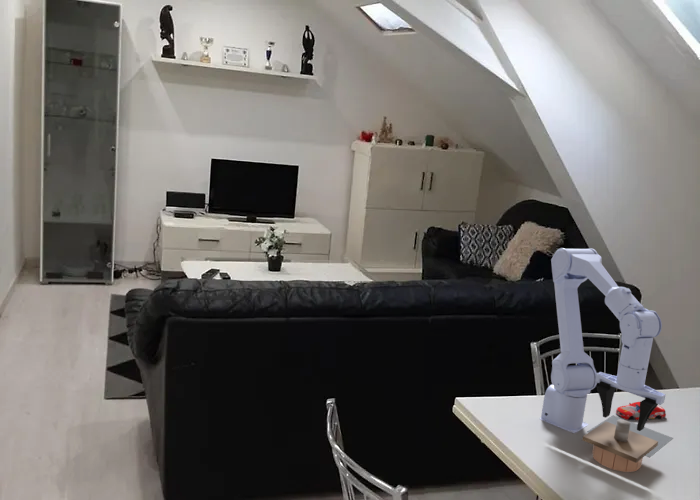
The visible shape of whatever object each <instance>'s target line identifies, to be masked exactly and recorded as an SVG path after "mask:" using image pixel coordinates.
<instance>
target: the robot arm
mask: <svg viewBox="0 0 700 500" xmlns="http://www.w3.org/2000/svg"><path fill="white" fill-rule="evenodd" d="M602 259H603V258H602V256H601V255H600V254H599V253H598V252H597V250H596V249H594V248H590V247H589V248H564V247H560V248H557V250H555V252H554V254H553V256H552V258H551V259H550V261H551V273H552V282H553V284H554V294H555V303H556V304H555V305H556V316H557V324H558V325H557V326H558V333H559V334H558V335H559V337H558V338H559V344H560V345H559V348H560V353H559V354H558V355H557V356H556V357H555V358H553V360H552V361H551V365H552V367H551V373H550V380H551V381H550V382H551V384H549V386H548V387H547V388H546V390H545V393H544V397H543V401H542V402H543V403H542V408H541V409H542V410H541V416H540V417H539V420H541V421H543V422H545V423H547V424H550V425H553V426H555V427H558V428H560V429H562V430H565V431H566V432H570V433H572V434H577V433H578V432H579V431H581V430H583V429H584V428H586V427H587V426H589V425H590V424H589V423H587V422H586V421H585V422H584V416H585V411H586V405H587V404H586V403H587V400H588V399H587V398H588V395H590V394H591V390H594V389H595V388H596V391H597V394H598V396H599V398H600V402H601V408H602V409H601V411H602V417H603V418H606V419H607V418H609V416H610V414H611V410H612V403H613V398H614V394H615V392H616V389H619V390H621V391H623V392H626V393H630V394H632V395H635V396H638V397H641V398H644V399H642V400H640V401H639V402H640V415H639V420H637V424H638V425H637V430H638V431H641V430H642V429H644V427H646V426H645V425H646V423H647V422H648V420H649V419H648V418H649V416H650V414H651V413H652V412H653V410H654V409H655V408H656V407H657V405H659V406H661V405H663V404H665V399H666V393H663V392H660V391H658V390H656V389H655V388H652V387H650V386H649V385H646V377H647V374H648V373H647V372H648V368H649V363H650V358H651V353H652V347H653V342H654V338H657V337H658V336H659V335H660V334H661V332H662V328H663V323H662V318H661V317H660V316H659V314H658V312H657V311H655V310H649V309H648V308H645V307H644V305H643V304H642V303H641V302H640V301H638V299H637V298H636V297H635V295H633V294H632V291H631V289H630V288H629V287H625V286H619V285H618V284H617V282H615V280H614V279H613V277H612V276H611V275H610V273H609V272H608V271H607V269H606V268H605V266H604V265H603V264H602V263H603V260H602ZM587 280H589V281H590V282H591V283H592V284H593V285H594V286H595V287H596V288H597V289H598V290H599V291H600V292H601V293H602V294H603V295H604V296H605V297H604V304H605V305H606V306H607V307H608V309H609V310H610V311H611V313H613V315H614V316H615V317H616V319H618V321H619V330H620V332H621V339H620V340H621V343H622V346H621V352H620V357H619V363H618V368H617V374H616V375H614V374H613V375H612V374H610V373H605V372H602V371H599V372H597V370H596V368H595V365H594V360H593V358H592V357H591V356H589V355H588V353H586V352H585V351H584V349H585V348H584V341H583V340H584V339H583V331H582V321H581V312H580V311H581V310H580V302H579V293H578V288H579V287H580V285H581V284H582V283H584V282H586V281H587ZM570 364H574V365H570ZM597 384H599V385H597Z"/></svg>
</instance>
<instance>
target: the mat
mask: <svg viewBox="0 0 700 500" xmlns="http://www.w3.org/2000/svg"><path fill="white" fill-rule="evenodd" d="M619 419H622V420H626V421H628V422H630V429H629V430H630V431H632V432H635V433H637V434H640V435H643V436H645V437H648V438H650V439H653V440H655V441H658V445H657V446H656V447H655V448H654V449H653V450H651V451H650V452H649V453H648V454H647V455H645V456H644V457H646V458H647V457H648V458H651V457H652V456H654V454H655V453H657V452H659V450H660V449H662V448H663V447H664V446H666V445H667V444H668V443H669V442H671V441H672V440H673V439H674V438H673V437H671V436H669V435H666V434H664V433H661V432H659V431H655V430H654V429H650V428H648V427H646V426H644V429H642V430H641V431H638V430H637V425H638V423H635V422H633V421H631V420H627V419H624V418H621V417H619V416H618V415H611V416H610V417H609V416H608V417H607V418H606V419H604V421H602V422H599V423H598V424H597V425H595V426H594V427H592V428H591V429H589V430H587V431H586V432H587V433H589V432H590V431H592V430H593V429H595V428H597V427H598V426H600V425H601V424H603V423H604V422H609V423H612V424H614V425H616V423H617V420H619Z"/></svg>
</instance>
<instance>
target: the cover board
mask: <svg viewBox="0 0 700 500" xmlns="http://www.w3.org/2000/svg"><path fill="white" fill-rule="evenodd" d="M622 419H623V418H622ZM622 419H619V420H617V423H616V425H614V424H612V423H609V422H604V423H603V424H601V425H600V426H598V427H597V428H595V429H593V430H592V431H590V432H589V433H588V432H587V433H586V434H584V435H583V436H582V440H581V441H582V442H585V443H588V444H590V445H592V446H594V445H595V446H597V447H599V448H602V449H604V450H607V451H609V452H611V453H614V454H616V455H619V456H621V457H623V458H626V459H628V460H630V461H633V462H635V463H637V462H638V461H639V460H640V459H642V458H644V457H646V456H645V455H647V454H648V453H649V452H650V451H651V450H653V449H654V448H655V447H656V446H657V445H658V441H655V440H653V439H650V438H648V437H645V436H643V435H640V434H637V433H635V432H632V431H630V430H629V429H630V422H631V421H630V422H628V421H629V420H627V419H625V420H622ZM626 420H627V421H626ZM642 460H643V459H642Z"/></svg>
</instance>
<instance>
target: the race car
mask: <svg viewBox="0 0 700 500" xmlns="http://www.w3.org/2000/svg"><path fill="white" fill-rule="evenodd" d="M640 402H641V401H635V402H632V403H631V402H629V404H625V405H622V406H619V407H617V408H616V411H615V414H616V416H617V417H619V418H622V419H625V420H627V421H634V420H635V421H638V420H639V415H640ZM666 416H667V413H666V410H665V408H663V407H662V406H661V405H659V404H658V405H657V407H656V408H655V409H654V410H653V412H652V413H651V414H650V416H649V418H648V419H647V420H663V419H665V418H666Z"/></svg>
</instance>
